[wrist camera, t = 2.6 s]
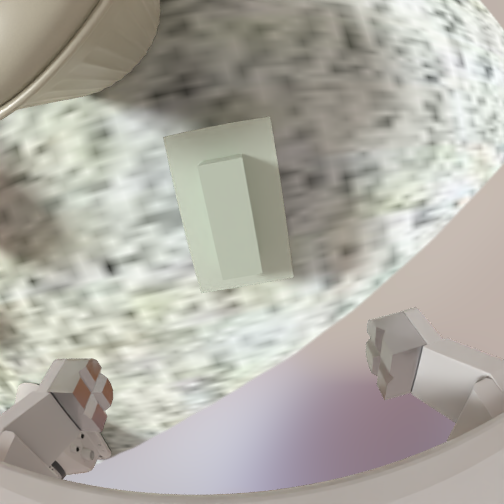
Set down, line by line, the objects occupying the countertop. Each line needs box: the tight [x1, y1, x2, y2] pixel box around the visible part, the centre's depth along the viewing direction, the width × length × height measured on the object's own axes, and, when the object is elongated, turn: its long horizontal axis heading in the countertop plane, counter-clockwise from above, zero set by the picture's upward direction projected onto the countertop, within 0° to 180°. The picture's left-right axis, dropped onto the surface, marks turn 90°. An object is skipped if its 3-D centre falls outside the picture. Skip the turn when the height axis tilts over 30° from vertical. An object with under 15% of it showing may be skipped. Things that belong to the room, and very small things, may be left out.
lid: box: [163, 116, 294, 293], centre depth 22 cm, size 13×8×5 cm, turn 10°
